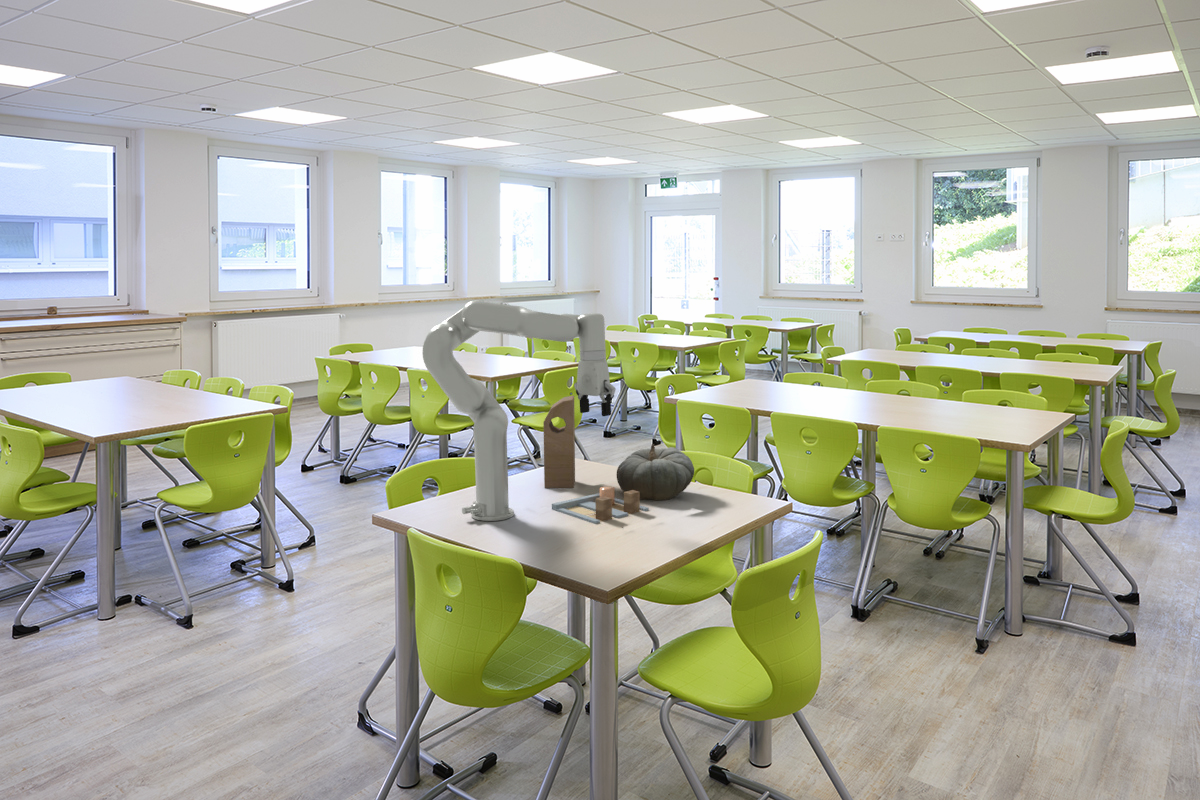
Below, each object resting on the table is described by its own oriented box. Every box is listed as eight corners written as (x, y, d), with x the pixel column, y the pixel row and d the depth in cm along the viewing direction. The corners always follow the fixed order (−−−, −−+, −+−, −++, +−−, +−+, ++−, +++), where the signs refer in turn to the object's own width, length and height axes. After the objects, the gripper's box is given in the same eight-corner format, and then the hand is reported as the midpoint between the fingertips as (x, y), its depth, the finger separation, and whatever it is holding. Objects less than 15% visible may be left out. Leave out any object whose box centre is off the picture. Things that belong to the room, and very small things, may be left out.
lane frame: (595, 528, 240) (594, 518, 239) (551, 513, 255) (551, 503, 254) (648, 514, 253) (648, 504, 253) (604, 501, 268) (604, 491, 268)
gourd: (696, 479, 285) (691, 431, 279) (697, 511, 261) (691, 459, 256) (622, 485, 288) (616, 437, 283) (616, 517, 264) (610, 466, 259)
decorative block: (573, 488, 284) (572, 399, 280) (544, 488, 285) (542, 399, 280) (575, 481, 294) (574, 395, 290) (546, 481, 294) (545, 395, 290)
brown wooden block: (600, 525, 242) (600, 501, 241) (584, 520, 247) (584, 496, 246) (614, 522, 245) (614, 497, 244) (598, 516, 250) (598, 493, 249)
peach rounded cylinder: (606, 507, 256) (606, 491, 256) (596, 504, 260) (596, 488, 259) (617, 504, 259) (617, 488, 259) (607, 501, 263) (607, 485, 262)
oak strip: (628, 518, 249) (628, 494, 248) (590, 506, 261) (590, 483, 260) (641, 514, 252) (641, 491, 251) (604, 503, 265) (604, 481, 264)
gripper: (564, 356, 251) (567, 413, 254) (602, 359, 238) (605, 418, 241) (583, 353, 256) (586, 409, 259) (622, 356, 243) (624, 415, 246)
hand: (595, 414), depth 250 cm, fingers open, 9 cm apart
